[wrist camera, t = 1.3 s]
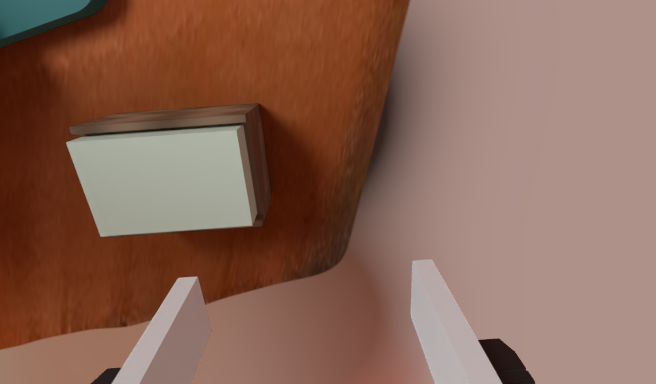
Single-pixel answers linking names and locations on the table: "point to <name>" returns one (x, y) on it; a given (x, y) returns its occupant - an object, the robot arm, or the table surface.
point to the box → (192, 119)
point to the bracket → (40, 16)
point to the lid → (166, 179)
